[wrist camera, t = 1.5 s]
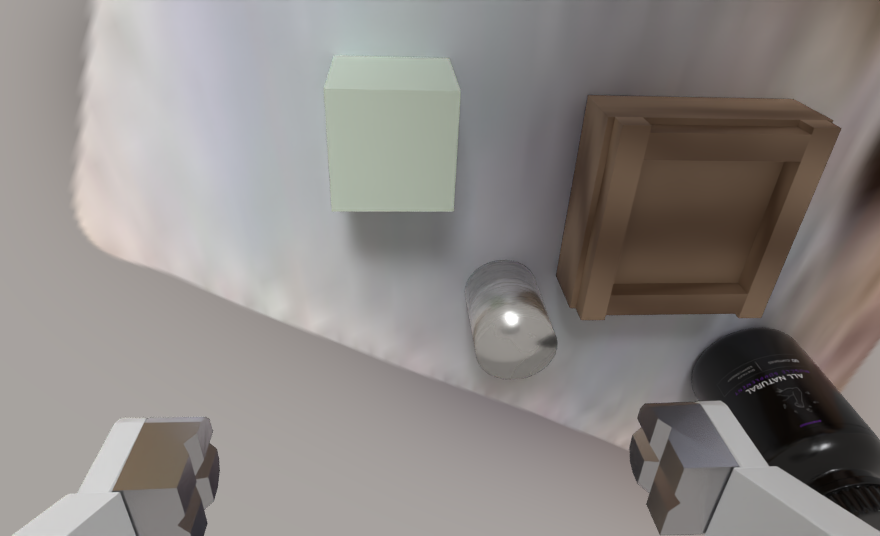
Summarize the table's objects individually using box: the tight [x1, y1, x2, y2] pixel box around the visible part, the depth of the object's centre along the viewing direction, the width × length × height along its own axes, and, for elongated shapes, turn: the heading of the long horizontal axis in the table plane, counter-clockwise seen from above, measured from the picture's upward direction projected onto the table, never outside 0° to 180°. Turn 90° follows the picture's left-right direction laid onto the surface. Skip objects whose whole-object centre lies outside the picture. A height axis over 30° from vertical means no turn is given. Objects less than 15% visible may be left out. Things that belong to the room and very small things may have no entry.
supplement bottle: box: [692, 328, 880, 531], centre depth 33 cm, size 7×7×12 cm
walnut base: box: [556, 95, 841, 320], centre depth 29 cm, size 10×10×4 cm
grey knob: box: [465, 260, 557, 380], centre depth 31 cm, size 4×4×5 cm
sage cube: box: [324, 55, 461, 212], centre depth 25 cm, size 5×5×5 cm
